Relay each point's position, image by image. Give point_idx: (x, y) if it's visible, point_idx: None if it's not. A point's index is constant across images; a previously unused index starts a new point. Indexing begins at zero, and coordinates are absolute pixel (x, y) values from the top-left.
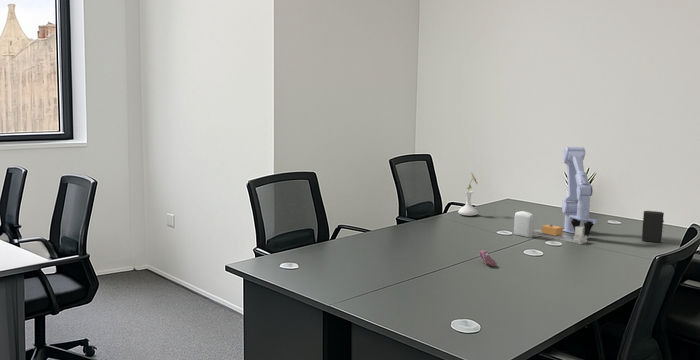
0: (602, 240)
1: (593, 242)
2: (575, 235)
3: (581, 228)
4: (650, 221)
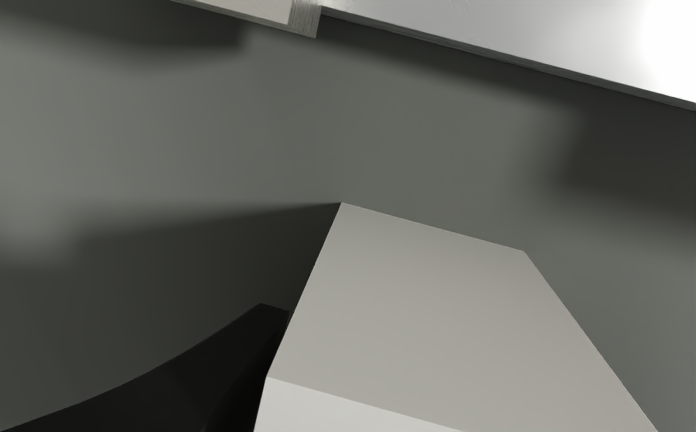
0: (25, 390)
1: (50, 113)
2: None
3: (326, 373)
4: None
